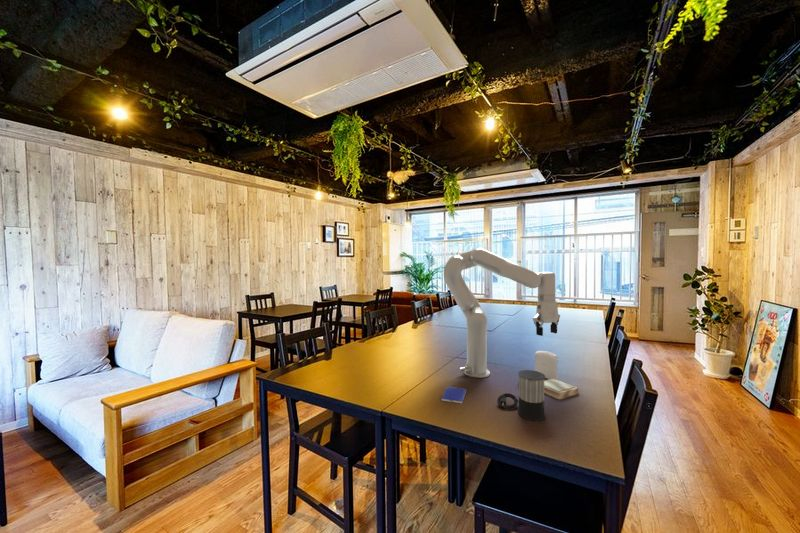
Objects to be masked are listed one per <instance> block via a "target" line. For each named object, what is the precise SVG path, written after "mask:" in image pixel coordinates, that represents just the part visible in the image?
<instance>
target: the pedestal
mask: <svg viewBox="0 0 800 533" xmlns="http://www.w3.org/2000/svg"><path fill="white" fill-rule="evenodd" d="M545 394H546V395H547V396H550V397H552V398H554V399H557V400H563V399H566V398H569V397H572V396H576V395H579V387H578V386H574V385H572V384H570V383H567V382H563V381H561V380H559V379H558V380H556V379H554V378H553V379H544V395H545Z"/></svg>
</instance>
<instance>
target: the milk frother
mask: <svg viewBox="0 0 800 533" xmlns="http://www.w3.org/2000/svg"><path fill="white" fill-rule="evenodd" d="M517 375H518V398H517V397H516V396H515V395H514V394H512V393H509V392H507V393H502V394H501V395H499V396H498V397H497V400H496V403H497V404H498V406H499V407H501V408H503V409H508V410H513V409H515V408H516V407H517V406H518V409H517V414H518V415H519V416H520V417H521V418H523V419H525V420H526V419H527V420H528V421H541V420H544V419H545V418H546V410H545V393H544V381H545V379H546V378H545V375H544V374H542V373H541V372H538V371H535V370H531V369H530V370H529V369H523V370H519V371H518V373H517ZM507 398H510V399H512V400H513V404H509V405H507Z"/></svg>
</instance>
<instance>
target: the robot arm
mask: <svg viewBox="0 0 800 533" xmlns="http://www.w3.org/2000/svg"><path fill="white" fill-rule="evenodd" d="M473 267H480V268H483V269H484V270H487V271H489V272H491V273H493V274H495V275H498V276H499V277H502V278H506V279H509V280H511V281H513V282H516V283H518V284H520V285H522V286H524V287H526V288H529V289H537V303H536V311H535V312H536V313H535V314H536V315H534V317H532V321H533V324H534V325H535V327H536V328H535V329H536V332H535V334H536V335H537V336H541V337H542V336H544V328H543V325H544V324H550V333H553V334H557V333H558V325H559V321H560V318H561V314H559V309H558V303H557V300H556V274H555V273H554V272H552V271H541V272H537V271H536V272H535V271H532V270H531V269H528V268H527V267H525V266H524V267H523V266H522V265H519V264H517V263H515V262H513V261H510V260H509V259H507V258H504V257H502V256H501V255H498V254H496V253H493V252H491V251H488V250H487V249H484V248H482V247H476V248H474V249H472V250H471V249H470V250H469V251H465V252H463V253H459V254H455V255H453V256H451V257H450V258H448V260H447V262H446V263H445V266H444V268H443V278H444V281H445V284H446V286H447V287H448V290H449V291H450V293H451V295H452V297H453V298H454V300H455V302H456V305H457V306H458V308H460V310H461V312H462V314H463V315H464V317H465V319H466V363H464V364H465V365H464V366H463V367H459V368H458V372H460V373H461V372H463V374H464V375H466V376H468V377H471V378H475V379H476V378H477V379H478V378H479V379H482V378H488V377H489V376H490V374H491V372H490V370H489V369H488V368H487V367H488V364H487V363H488V361H487V358H488V357H487V356H488V355H487V354H488V352H487V351H488V350H487V349H488V347H487V345H488V344H487V343H488V342H487V341H488V340H487V338H488V337H487V335H488V318H487V315H486V313H485V312H484V310H483V308H482V306H481V305H480V302H478V299H477V298H476V297H475V296H476V295H475V294H474V292H472V290H470V288H469V287H468V285H467V283H466V281H465V279H464V278H463V275H462V271H465V270H468V269H471V268H473Z"/></svg>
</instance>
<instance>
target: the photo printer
mask: <svg viewBox="0 0 800 533" xmlns="http://www.w3.org/2000/svg"><path fill="white" fill-rule="evenodd" d="M534 354H535V355H534V371H538V372H541V373H542V374H544V375H545V378H544V379H546V380H549V379H553V378H554V379H556V380H559V379H558V378H559V372H558V370H559V368H558V366H559V363H558V362H559V360H558V355H557V354H555V353H553V352H550V351H548V350H547V351H546V350H536V351H535V353H534Z"/></svg>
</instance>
